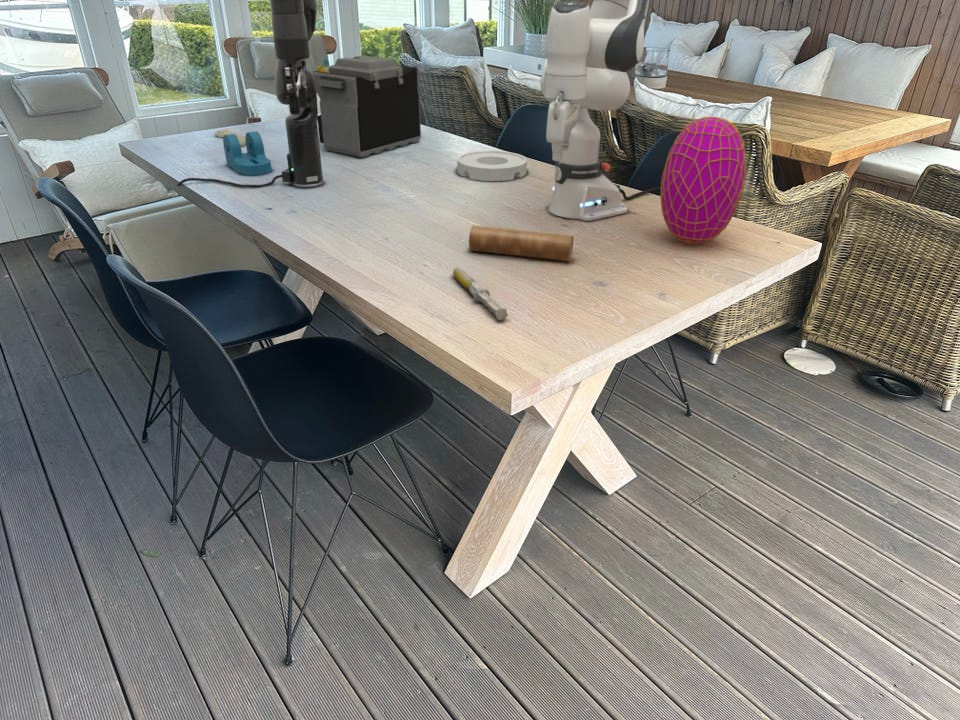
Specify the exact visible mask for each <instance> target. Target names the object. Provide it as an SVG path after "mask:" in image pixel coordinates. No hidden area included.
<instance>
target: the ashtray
mask: <svg viewBox="0 0 960 720" xmlns="http://www.w3.org/2000/svg"><path fill="white" fill-rule="evenodd" d="M456 161H457V162H456V163H457V164H456V165H457V169H456V170H457V174H458V175H460V176H461V177H464V178H465V177H467V178H468V179H470V180H473V181H474V180H475V181H482V182H503V181H504V182H506V181H512V180H515V178H516V179H517V178H519V179H520V178H523V177H524V176H526V175H527V172H528V159H527V157H526V156H524V155H522V154H519V153H516V152H511V151H503V150H478V151H471V152H470V151H469V152H466V153H463V154H460V155H459V156H458V157H457V158H456Z"/></svg>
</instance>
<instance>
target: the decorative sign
mask: <svg viewBox="0 0 960 720" xmlns="http://www.w3.org/2000/svg"><path fill="white" fill-rule="evenodd" d="M230 134H235V135H236V136H237V138H238V140H239V142H240V146H241V147H245V146H246V139H245V137H246V135H243V134H240V133H237V132H235V131H232V130H229V129H221V130H219V129H218V130H217V131H216V132H214V136H215V137H218V138H223V137H224V135H230Z"/></svg>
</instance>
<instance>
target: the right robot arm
mask: <svg viewBox="0 0 960 720" xmlns="http://www.w3.org/2000/svg"><path fill="white" fill-rule="evenodd" d="M651 2H652V0H593V1H592V3H591V6H590V5H589V3H587V2H586V1H583V0H564V1H563V0H562V1H560V2H557V3H555V4H554V5H553V6H552V7H551V10H550V14H549V18H548V24H547V32H546V43H545V44H546V45H545V52H546V58H547V59H546V66H545V67H544V70H543V71H542V72H541V76H540V81H539V82H540V91H541V93H542V95H543V97H544V98H545V99H546V100H547V102H548V105H549V106H548V109H547V119H546V130H545V131H546V132H545V140H546V142H547V143H551V151H552V157H551V159H552V161H553V162H555V167H554V185H553V187H552V191H553V192H552V196H551V200H550V204H549V206H548V209H547V210H548V212H549V213H550V214H552V215H554V216H558V217H561V218H566V219H574V220H580V221H586V222H593V221H596V220H600V219H604V218H611V217H613V216H619V215H622V214H627V213H628V206H627V205H626V204H624V203H623V202H622V201H621V195H622V198H623V199H624V200H626V201H629V200H632V199H634V198H636V197H639V196H643V195H645V194H649V193H651V192H655V191H656V192H657V191H660V192H661V187H652V188H649V189H646V190H643V191H639V192H636V193H633V194H631V195H630V196H627V194H626V192H625V191H624V190H623V189H622V188H621V185H619V184H616V183H614V182H612V181H611V180H610V179H609V178H608V177H607V176H605V174H604V172H609V171H610V170H611V168H612V167H611V165H610V164H609V163H607V162H602V161H600V160H599V155H600V146H601V145H600V144H601V131H600V129H599V127H598V126H597V124H595V123H594V122H593V120H592V118H591V117H590V114H589V111H588V110H591V111H596V112H610V111H611V112H612V111H617V110H620V109H621V108H622V107H624V105H625V103H626V102H627V100H628V98H629V96H630V92H631V81H630V77H629V75H628V73H627V72H628V71H630V70H632V69H633V68H634V67H636V65H638V64H639V63H640V62H641V59H642V56H643V54H644V53H643V52H644V49H645V34H646V30H647V29H646V28H647V23H648V18H649V13H650V8H651ZM603 171H604V172H603Z"/></svg>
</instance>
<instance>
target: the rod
mask: <svg viewBox="0 0 960 720" xmlns="http://www.w3.org/2000/svg"><path fill="white" fill-rule="evenodd" d="M468 247H469V250H470V252H471V251H473V252H480V253H490V254H498V255H499V254H500V255H508V256H517V257H524V258H525V257H526V258H534V259H542V260H551V261H560V262H561V261H562V262H571V260H572V255H573V250H574V235H570V234H569V235H568V234H560V233H559V234H558V233H550V232H549V233H548V232H540V231H529V230H521V229H512V228H501V227H493V226H484V225H483V226H482V225H472V226H471V227H470V231H469V236H468Z"/></svg>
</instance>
